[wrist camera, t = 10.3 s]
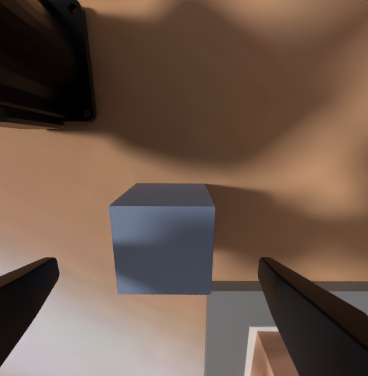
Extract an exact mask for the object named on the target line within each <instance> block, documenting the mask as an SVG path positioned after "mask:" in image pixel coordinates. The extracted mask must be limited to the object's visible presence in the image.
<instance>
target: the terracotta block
mask: <svg viewBox="0 0 368 376" xmlns="http://www.w3.org/2000/svg"><path fill="white" fill-rule="evenodd" d="M250 376H299V374H298V372H297V370H296V368H295V366H294V363H293V361H292V359H291V357H290V355H289V353H288V350H287V348H286V346H285V344H284V342H283V340H282V337H281V335H280V333H279V331H257V334H256V341H255V347H254V354H253V360H252V367H251V374H250Z"/></svg>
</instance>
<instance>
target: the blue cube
mask: <svg viewBox="0 0 368 376" xmlns="http://www.w3.org/2000/svg"><path fill="white" fill-rule="evenodd" d="M109 212H110V221H111V231H112V241H113V251H114V260H115V270H116V280H117V290H118V294H185V295H211V285H212V265H213V244H214V224H215V205H214V203H213V201H212V199H211V197H210V194H209V192H208V190H207V188H206V186H205V184H168V183H136V184H135V185H134V186H133V187H131V188H130V189H129V190H128V191H127V192H125V193H124V194H123V195H122V196H120V197H119V198H118V199H117V200H116V201H114V202H113V203H112V204H111V205H110V206H109Z"/></svg>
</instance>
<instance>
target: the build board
mask: <svg viewBox="0 0 368 376" xmlns="http://www.w3.org/2000/svg"><path fill="white" fill-rule="evenodd" d="M313 283H315V284H317V285H318V286H320V287H322V288H323V289H325V290H327V291H329V292H330V293H332V294H334V295H335V296H337V297H339V298H341V299H342V300H344V301H346V302H347V303H349V304H351V305H352V306H354V307H356V308H358V309H359V310H361V311H363V312H364V313H366V314H367V316H368V282H313ZM257 331H278V329H277V327H276V324H275V322H274V320H273V318H272V315H271V313H270V310H269V307H268V304H267V302H266V299H265V296H264V293H263V290H262V287H261V284H260V282H212V285H211V295H207V314H206V343H205V371H204V376H250V374H251V367H252V360H253V354H254V347H255V341H256V334H257Z"/></svg>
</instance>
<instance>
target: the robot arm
mask: <svg viewBox="0 0 368 376" xmlns="http://www.w3.org/2000/svg"><path fill="white" fill-rule="evenodd" d="M74 9H77V12H76V14H72V11H73V10H74ZM86 110H88V111H89V113H90V114H89V116H88V117H86V116H85V112H86ZM95 118H96V106H95V97H94V88H93V79H92V70H91V61H90V53H89V44H88V35H87V26H86V17H85V11H84V9H83V7H82V6H81V5H80V3H79V2H78V1H77V0H0V127H8V128H19V129H61V128H62V127H64V122H93V121H94V120H95ZM58 278H59V269H58V264H57V260H56V258H54V257H46V258H42V259H40V260H38V261H35V262H33V263H31V264H28V265H26V266H23V267H21V268H19V269H16V270H14V271H12V272H9V273H7V274H5V275H2V276H0V367H1V366H2V364H3V363H4V361H5V360H6V358H7V357H8V356H9V354H10V353H11V351H12V350H13V348H14V347H15V346H16V344H17V343H18V341H19V340H20V339H21V337H22V336H23V334H24V333H25V331H26V330H27V329H28V327H29V326H30V324H31V323H32V321H33V320H34V318H35V317H36V315H37V314H38V312H39V311H40V309H41V307H42V306H43V304H44V302H45V301H46V299H47V297H48V296H49V294H50V292H51V290H52V289H53V287H54V285H55V284H56V282H57V280H58ZM258 279H259V282H260V284H261V287H262V290H263V293H264V296H265V299H266V302H267V304H268V307H269V310H270V313H271V315H272V318H273V320H274V322H275V324H276V327H277V329H278V331H279V333H280V335H281V337H282V340H283V342H284V344H285V346H286V348H287V350H288V353H289V355H290V357H291V359H292V361H293V363H294V366H295V368H296V370H297V372H298V374H299V376H368V316H367V314H366V313H364V312H363V311H361V310H359V309H358V308H356V307H354V306H352V305H351V304H349V303H347V302H346V301H344V300H342V299H341V298H339V297H337V296H335V295H334V294H332V293H330V292H329V291H327V290H325V289H323V288H322V287H320V286H318V285H317V284H315V283H313V282H311V281H310V280H308V279H306V278H305V277H303V276H301V275H299V274H298V273H296V272H294V271H293V270H291V269H289V268H287V267H286V266H284V265H282V264H281V263H279V262H277V261H275V260H274V259H272V258H270V257H261V258H260V260H259V268H258Z"/></svg>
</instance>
